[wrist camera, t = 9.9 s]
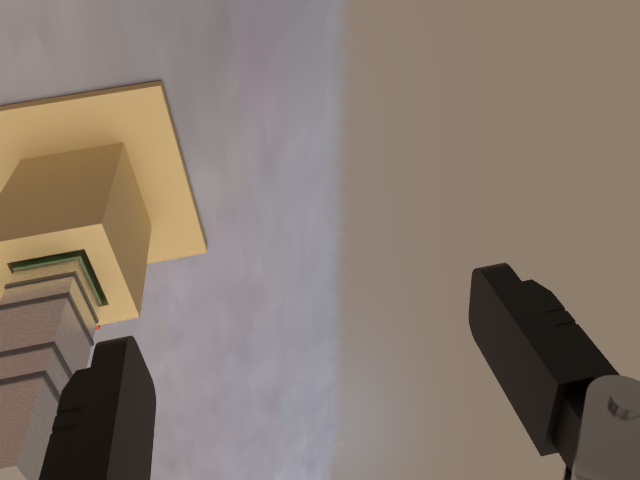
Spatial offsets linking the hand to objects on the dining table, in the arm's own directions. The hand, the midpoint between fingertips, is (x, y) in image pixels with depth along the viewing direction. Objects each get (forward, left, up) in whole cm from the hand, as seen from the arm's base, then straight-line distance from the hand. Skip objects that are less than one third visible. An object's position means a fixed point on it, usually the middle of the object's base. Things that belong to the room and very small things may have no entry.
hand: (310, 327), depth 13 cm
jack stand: (+2, -19, -34) cm, 39 cm away
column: (+2, -19, -26) cm, 32 cm away
